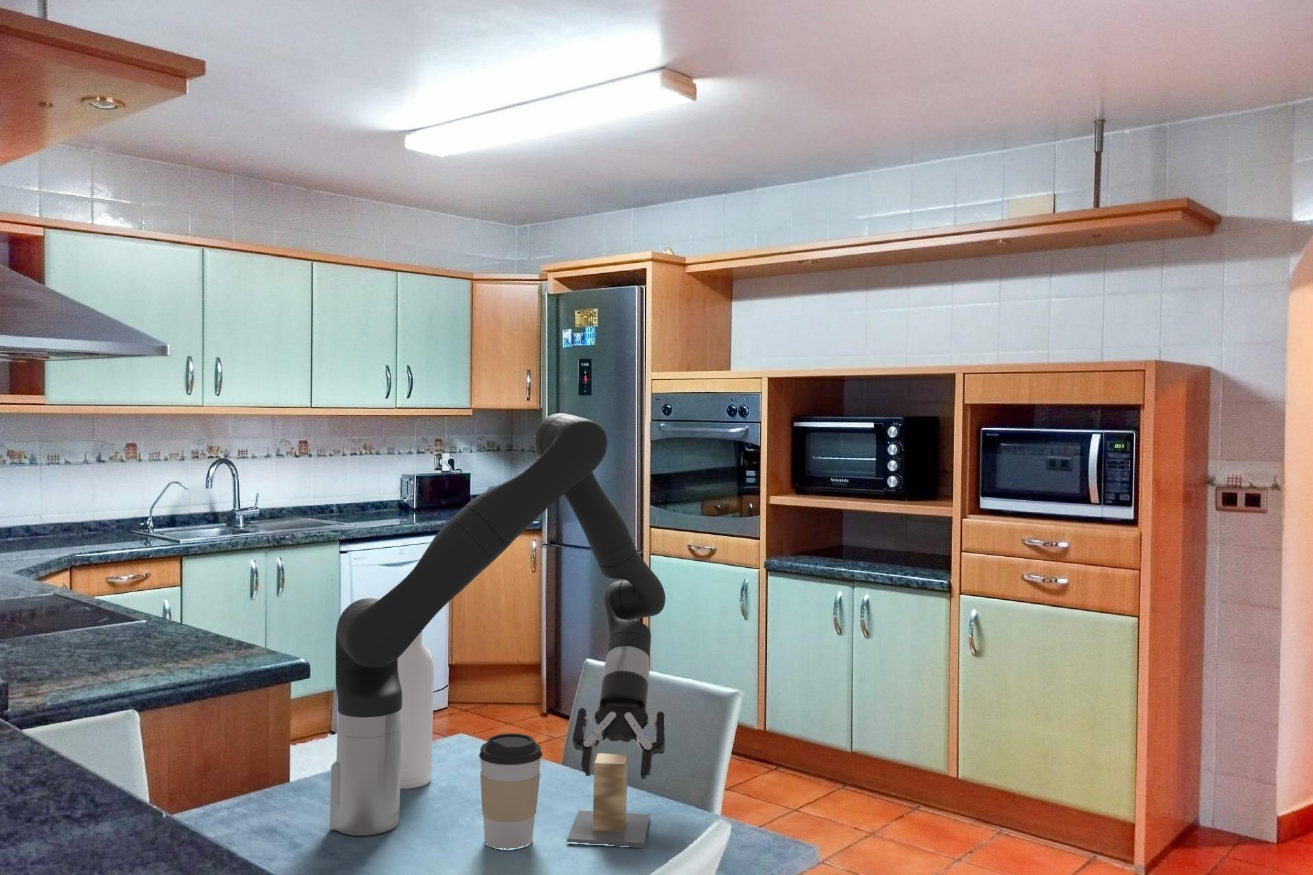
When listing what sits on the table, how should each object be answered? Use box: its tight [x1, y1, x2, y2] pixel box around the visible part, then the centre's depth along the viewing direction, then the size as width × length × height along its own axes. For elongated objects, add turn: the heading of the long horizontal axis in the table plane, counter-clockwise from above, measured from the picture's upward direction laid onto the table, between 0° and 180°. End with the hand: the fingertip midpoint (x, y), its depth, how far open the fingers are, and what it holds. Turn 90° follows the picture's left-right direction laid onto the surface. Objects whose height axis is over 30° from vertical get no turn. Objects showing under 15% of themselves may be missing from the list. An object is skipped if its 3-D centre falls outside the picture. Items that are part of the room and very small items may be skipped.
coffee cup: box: [478, 732, 543, 849], centre depth 147 cm, size 9×9×15 cm
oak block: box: [592, 752, 629, 832], centre depth 151 cm, size 4×4×10 cm
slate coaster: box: [566, 809, 650, 849], centre depth 151 cm, size 11×11×1 cm
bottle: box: [398, 630, 435, 790], centre depth 170 cm, size 8×8×30 cm
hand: (615, 775), depth 155 cm, fingers open, 8 cm apart
